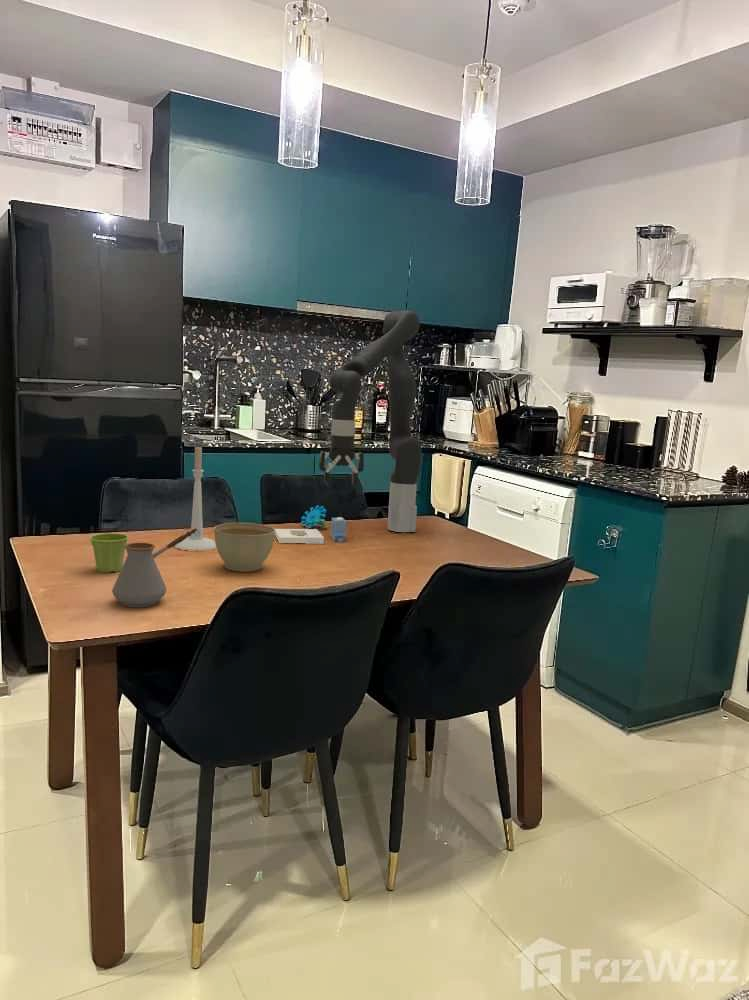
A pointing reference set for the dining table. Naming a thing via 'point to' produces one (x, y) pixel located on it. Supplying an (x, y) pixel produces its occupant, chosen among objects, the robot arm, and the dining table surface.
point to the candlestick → (197, 512)
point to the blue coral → (314, 517)
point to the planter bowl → (243, 545)
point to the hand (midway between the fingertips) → (340, 484)
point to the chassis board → (291, 536)
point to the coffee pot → (142, 575)
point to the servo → (338, 529)
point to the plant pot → (109, 551)
